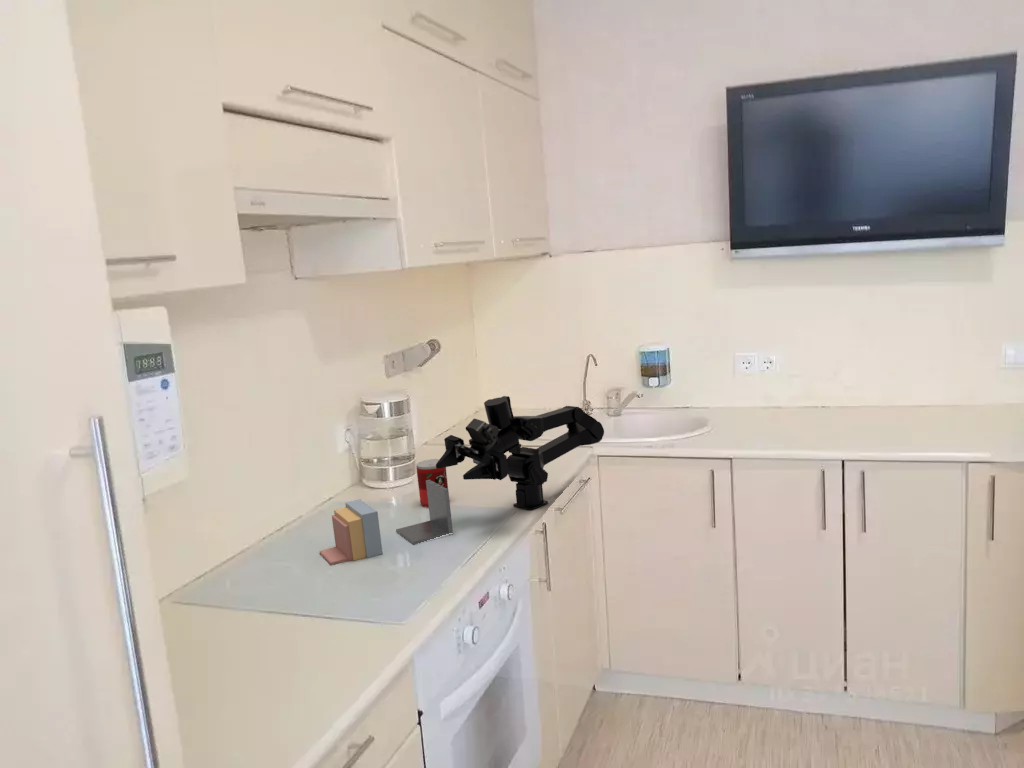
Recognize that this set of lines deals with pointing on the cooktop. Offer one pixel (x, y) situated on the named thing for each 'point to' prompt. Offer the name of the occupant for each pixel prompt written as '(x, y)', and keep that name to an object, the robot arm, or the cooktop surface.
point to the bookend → (431, 517)
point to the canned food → (429, 477)
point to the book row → (354, 533)
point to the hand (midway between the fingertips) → (449, 471)
